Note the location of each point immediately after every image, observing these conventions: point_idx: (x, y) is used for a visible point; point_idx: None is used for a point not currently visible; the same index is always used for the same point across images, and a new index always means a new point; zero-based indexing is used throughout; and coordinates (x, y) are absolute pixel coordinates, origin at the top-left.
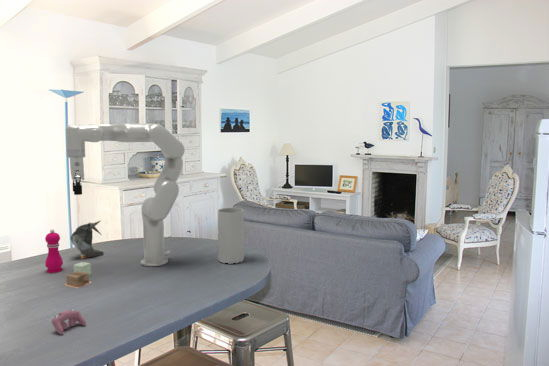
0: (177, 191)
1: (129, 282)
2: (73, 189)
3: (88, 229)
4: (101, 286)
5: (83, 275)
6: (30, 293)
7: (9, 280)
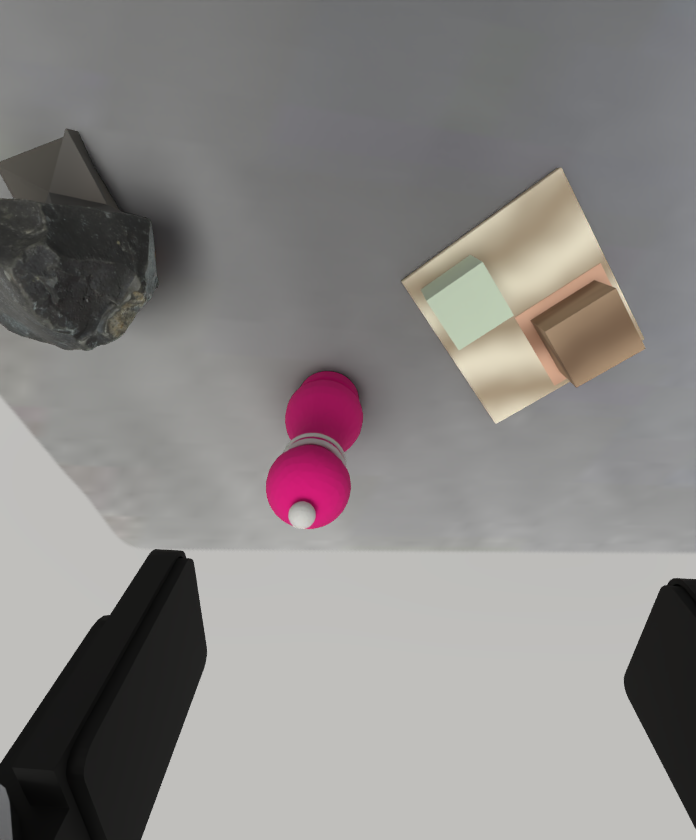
0: None
1: (688, 54)
2: (195, 689)
3: (48, 237)
4: (646, 223)
5: (627, 314)
6: (546, 486)
7: (355, 538)
